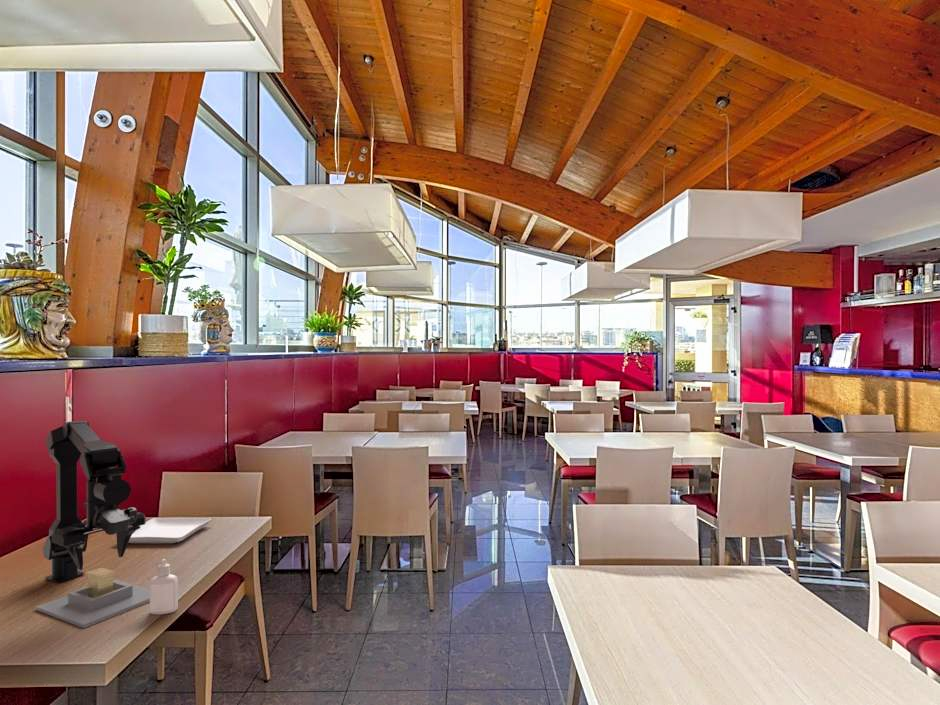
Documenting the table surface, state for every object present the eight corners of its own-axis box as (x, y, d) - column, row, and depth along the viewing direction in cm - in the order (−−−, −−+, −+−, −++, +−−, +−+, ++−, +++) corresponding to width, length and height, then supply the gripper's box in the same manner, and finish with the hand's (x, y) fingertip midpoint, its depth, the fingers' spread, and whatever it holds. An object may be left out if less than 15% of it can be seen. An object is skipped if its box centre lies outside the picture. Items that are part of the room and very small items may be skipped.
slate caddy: (35, 610, 129) (35, 595, 129) (115, 582, 145) (114, 569, 145) (83, 628, 120) (83, 613, 120) (162, 596, 136) (162, 583, 136)
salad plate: (180, 547, 174) (180, 536, 174) (114, 547, 174) (114, 536, 174) (213, 526, 195) (213, 517, 195) (153, 527, 195) (153, 517, 195)
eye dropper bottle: (164, 617, 125) (164, 564, 125) (146, 613, 127) (146, 561, 127) (180, 609, 129) (180, 557, 129) (162, 605, 131) (162, 555, 131)
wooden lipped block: (86, 600, 133) (85, 572, 133) (101, 594, 136) (101, 567, 136) (100, 605, 130) (100, 576, 130) (115, 599, 133) (115, 571, 133)
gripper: (77, 511, 121) (77, 583, 121) (159, 493, 138) (159, 555, 137) (50, 506, 126) (50, 574, 126) (132, 488, 143) (132, 549, 143)
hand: (101, 563), depth 133 cm, fingers open, 9 cm apart
